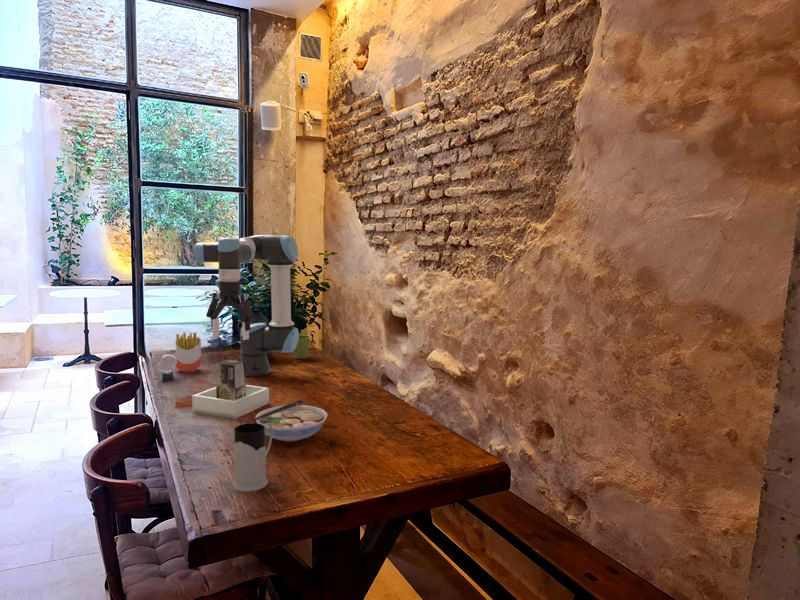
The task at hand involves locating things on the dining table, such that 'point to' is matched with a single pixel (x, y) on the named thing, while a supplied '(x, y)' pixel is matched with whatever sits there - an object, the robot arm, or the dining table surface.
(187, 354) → the french fries container
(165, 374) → the watch
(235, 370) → the coffee box
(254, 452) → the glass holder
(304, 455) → the dining table surface
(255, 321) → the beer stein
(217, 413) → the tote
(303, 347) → the plant pot
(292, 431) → the ramen bowl
